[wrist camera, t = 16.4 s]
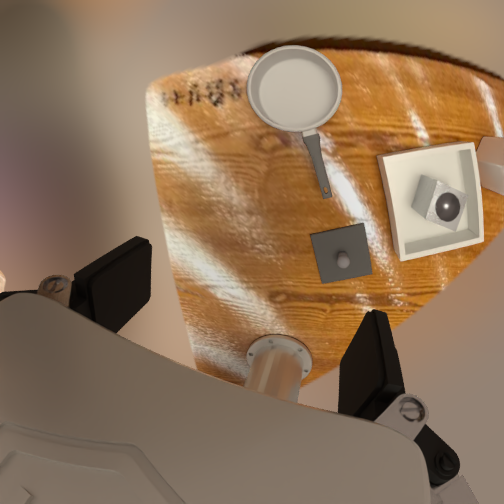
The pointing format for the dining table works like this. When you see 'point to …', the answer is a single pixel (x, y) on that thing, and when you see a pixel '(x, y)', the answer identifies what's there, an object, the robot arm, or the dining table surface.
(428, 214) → the metal block
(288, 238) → the dining table surface
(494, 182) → the jar
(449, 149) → the bin
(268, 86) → the saucepan
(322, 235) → the ball stud
